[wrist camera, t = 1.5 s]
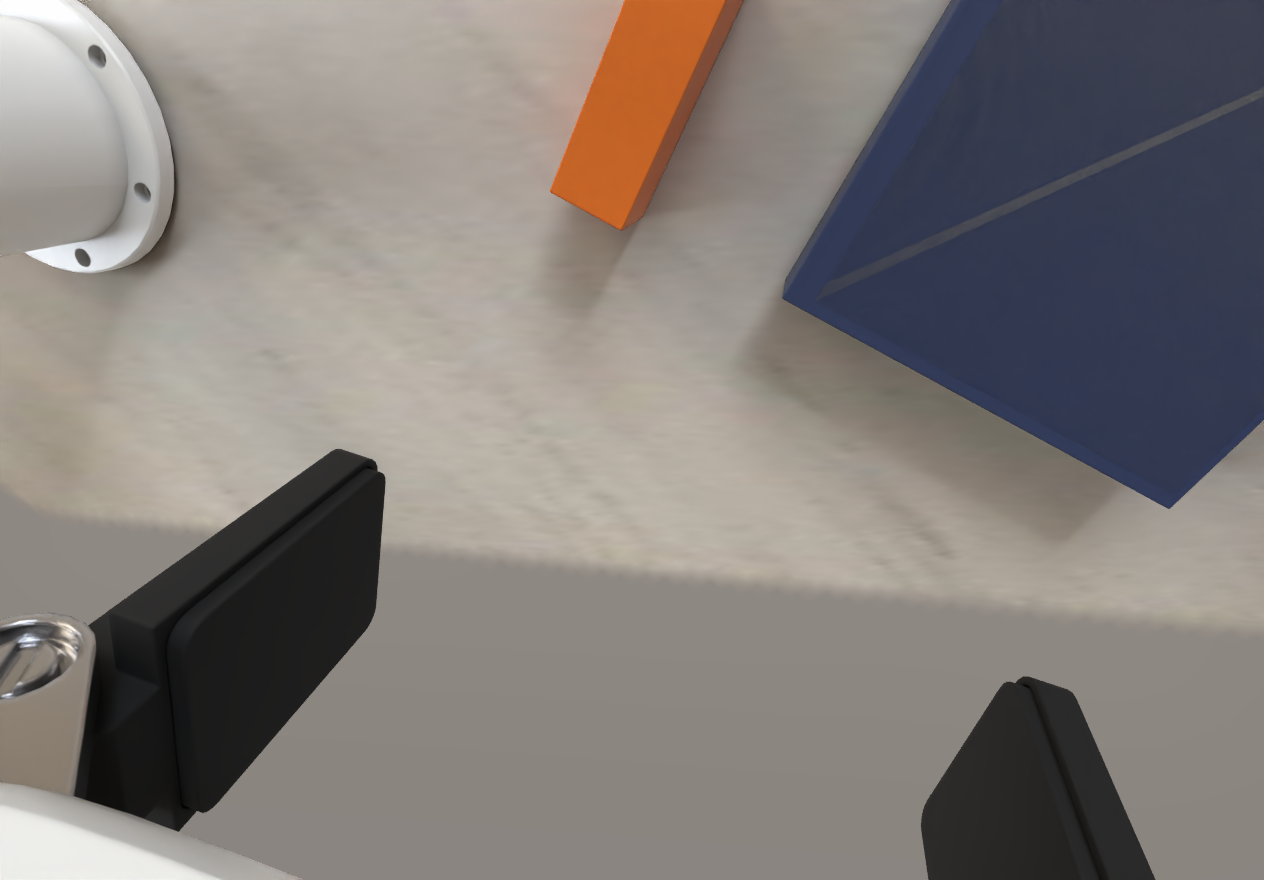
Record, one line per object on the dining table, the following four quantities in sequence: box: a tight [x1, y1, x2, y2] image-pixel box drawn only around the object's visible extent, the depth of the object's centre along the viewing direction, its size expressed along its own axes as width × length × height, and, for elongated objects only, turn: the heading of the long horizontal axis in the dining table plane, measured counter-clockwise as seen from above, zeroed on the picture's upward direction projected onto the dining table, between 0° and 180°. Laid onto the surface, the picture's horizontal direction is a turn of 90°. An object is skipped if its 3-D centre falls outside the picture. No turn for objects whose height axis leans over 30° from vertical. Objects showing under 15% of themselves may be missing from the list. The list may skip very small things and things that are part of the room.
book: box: [782, 0, 1264, 509], centre depth 23 cm, size 16×22×3 cm
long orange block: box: [550, 0, 743, 230], centre depth 26 cm, size 3×9×4 cm, turn 155°
